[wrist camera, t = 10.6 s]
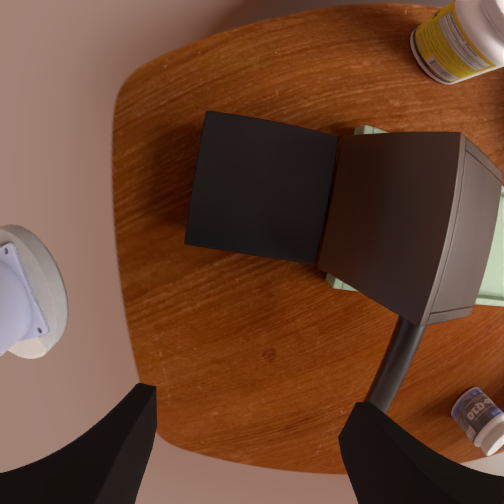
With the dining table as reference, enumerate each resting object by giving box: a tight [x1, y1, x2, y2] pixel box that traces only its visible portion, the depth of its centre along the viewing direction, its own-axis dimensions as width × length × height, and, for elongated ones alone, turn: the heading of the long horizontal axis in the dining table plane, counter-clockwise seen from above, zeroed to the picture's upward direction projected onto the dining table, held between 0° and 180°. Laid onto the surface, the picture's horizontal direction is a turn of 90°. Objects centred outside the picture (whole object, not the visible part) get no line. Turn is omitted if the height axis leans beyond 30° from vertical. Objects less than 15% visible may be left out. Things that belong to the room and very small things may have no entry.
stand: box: [184, 111, 339, 264], centre depth 16 cm, size 7×7×4 cm
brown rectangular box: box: [317, 132, 503, 414], centre depth 13 cm, size 7×14×5 cm
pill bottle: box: [451, 387, 504, 456], centre depth 20 cm, size 5×5×8 cm
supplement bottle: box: [410, 0, 504, 84], centre depth 11 cm, size 5×5×10 cm
